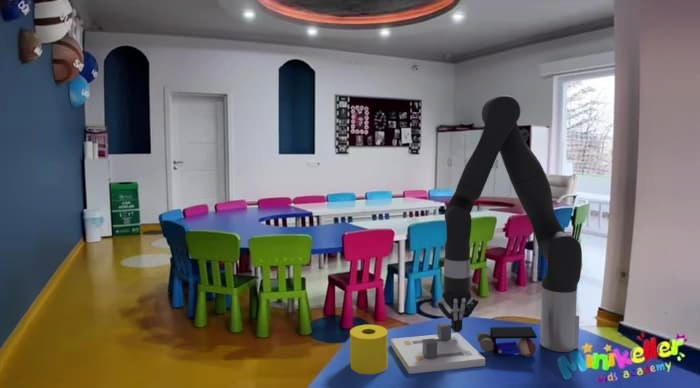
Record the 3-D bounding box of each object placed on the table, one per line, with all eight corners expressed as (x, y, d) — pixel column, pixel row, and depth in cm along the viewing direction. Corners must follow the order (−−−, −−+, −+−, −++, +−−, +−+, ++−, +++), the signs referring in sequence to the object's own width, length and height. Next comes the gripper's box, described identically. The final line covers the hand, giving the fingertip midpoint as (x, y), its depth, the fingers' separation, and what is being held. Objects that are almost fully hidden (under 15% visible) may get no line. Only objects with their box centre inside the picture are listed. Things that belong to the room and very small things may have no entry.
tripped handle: (447, 335, 140) (447, 322, 140) (451, 339, 137) (451, 326, 137) (436, 336, 140) (436, 323, 139) (440, 340, 137) (441, 327, 136)
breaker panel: (457, 339, 144) (457, 332, 143) (485, 365, 126) (485, 358, 126) (390, 345, 140) (390, 338, 140) (409, 373, 122) (409, 366, 122)
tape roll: (391, 359, 131) (391, 326, 130) (382, 376, 121) (382, 340, 120) (356, 355, 134) (356, 323, 133) (345, 371, 124) (345, 336, 123)
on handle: (433, 352, 129) (433, 338, 129) (437, 357, 126) (437, 343, 126) (422, 353, 128) (422, 339, 128) (426, 358, 125) (426, 344, 125)
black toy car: (482, 364, 130) (540, 360, 128) (479, 337, 130) (537, 333, 128) (478, 353, 137) (533, 349, 135) (476, 328, 136) (530, 323, 134)
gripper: (472, 269, 142) (472, 325, 144) (430, 271, 140) (430, 328, 142) (484, 275, 135) (483, 334, 137) (440, 278, 132) (439, 338, 134)
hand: (456, 331), depth 139 cm, fingers closed
